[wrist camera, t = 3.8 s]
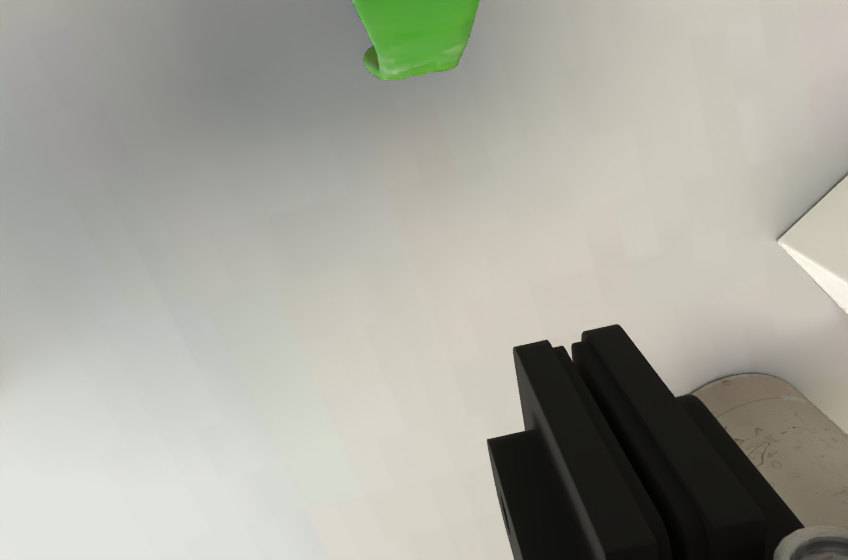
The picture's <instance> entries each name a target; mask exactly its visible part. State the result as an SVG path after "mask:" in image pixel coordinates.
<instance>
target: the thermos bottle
mask: <svg viewBox="0 0 848 560" xmlns="http://www.w3.org/2000/svg"><path fill="white" fill-rule="evenodd" d="M692 395H695V396H697V397H698V398H699V399H700V400H701V401H702V402H703V403H704V404H705V406H706V407H707V408H708V409H709V411H710V412H711V413H712V414H713V415H714V417H715V418H716V419H717V420H718V422H719V423H720V424H721V425H722V426H723V428H724V429H725V430H726V431H727V433H728V434H729V435H730V436H731V437H732V439H733V440H734V441H735V442H736V444H737V445H738V446H739V447H740V448H741V450H742V451H743V452H744V453H745V454H746V456H747V457H748V458H749V459H750V461H751V462H752V463H753V464H754V465H755V467H756V468H757V469H758V470H759V472H760V473H761V474H762V475H763V476H764V478H765V479H766V480H767V481H768V483H769V484H770V485H771V486H772V487H773V489H774V490H775V491H776V492H777V494H778V495H779V496H780V497H781V498H782V500H783V501H784V502H785V503H786V505H787V506H788V507H789V508H790V509H791V511H792V512H793V513H794V514H795V516H796V517H797V518H798V519H799V520H800V522H801V523H802V524H803V525H804V526H805V528H807V527H812V526H816V525H820V526H841V527H845V528H848V435H847V434H846V433H844V432H843V431H842V430H841V429H840V428H839V427H838V426H837V425H836V424H834V423H833V422H832V421H831V420H830V419H829V418H828V417H827V416H826V415H824V414H823V413H822V412H821V411H820V410H819V409H818V408H817V407H816V406H814V405H813V404H812V403H811V402H810V401H809V400H808V399H807V398H806V397H805V396H803V395H802V394H801V393H800V392H799V391H798V390H797V389H795V388H794V387H793V386H791V385H790V384H789V383H787V382H786V381H784V380H781V379H779V378H777V377H774V376H770V375H764V374H739V375H734V376H729V377H725V378H723V379H720V380H717V381H714V382H711V383H709V384H708V385H706V386H704V387H702V388H700V389H698V390H696V391H695V392H694V393H692Z"/></svg>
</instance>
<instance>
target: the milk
mask: <svg viewBox="0 0 848 560" xmlns="http://www.w3.org/2000/svg"><path fill="white" fill-rule="evenodd" d="M778 243H779V244H780V245H781V246H782V247H783V248H784V249H785V251H786V252H787V253H788V254H789V255H790V256H791V257H792V258H793V259H794V260H795V261H796V262H797V263H798V264H799V265H800V266H801V267H802V268H803V269H804V270H805V271H806V272H807V273H808V274H809V275H810V276H811V277H812V278H813V279H814V280H815V281H816V282H817V284H818V285H819V286H820V287H821V288H822V289H823V290H824V291H825V292H826V293H827V294H828V295H829V296H830V297H831V298H832V299H833V300H834V301H835V302H836V303H837V304H838V305H839V306H840V307H841V308H842V309H843V310H844V311H845V312H846V313H847V314H848V175H847V176H846V177H845V178H844V179H843V180H842V181H841V182H840V183H839V184H838V185H837V186H836V187H834V188H833V189H832V190H831V191H830V192H829V193H828V194H827V195H826V196H825V197H824V198H823V199H822V200H820V201H819V202H818V203H817V204H816V205H815V206H814V207H813V208H812V209H811V210H810V211H809V212H808V213H806V214H805V215H804V216H803V217H802V218H801V219H800V220H799V221H798V222H797V223H796V224H795V225H794V226H792V227H791V228H790V229H789V230H788V231H787V232H786V233H785V234H784V235H783V236H782V237H781V238H780V239H779V240H778Z"/></svg>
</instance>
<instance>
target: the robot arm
mask: <svg viewBox="0 0 848 560" xmlns="http://www.w3.org/2000/svg"><path fill="white" fill-rule="evenodd" d="M571 349H572V360H573V362H572V360H571V358H570V356H569V355H568V353H567V351H566V349H565V348H564V346H559V347H554V348H552V346H551V344H550V342H549V341H548V340H543V341H539V342H535V343H530V344H526V345H521V346H517V347H514V348H513V355H514V362H515V368H516V375H517V381H518V387H519V394H520V400H521V407H522V413H523V419H524V426H525V431H523V432H518V433H514V434H509V435H505V436H500V437H496V438H492V439H487V444H488V450H489V456H490V461H491V466H492V471H493V476H494V481H495V486H496V490H497V495H498V499H499V503H500V508H501V512H502V516H503V520H504V524H505V527H506V531H507V535H508V538H509V542H510V546H511V549H512V553H513V556H514V560H848V528H845V527H841V526H820V525H816V526H812V527H807V528H805V526H804V525H803V524H802V523H801V522H800V520H799V519H798V518H797V517H796V516H795V514H794V513H793V512H792V511H791V509H790V508H789V507H788V506H787V505H786V503H785V502H784V501H783V500H782V498H781V497H780V496H779V495H778V494H777V492H776V491H775V490H774V489H773V487H772V486H771V485H770V484H769V483H768V481H767V480H766V479H765V478H764V476H763V475H762V474H761V473H760V472H759V470H758V469H757V468H756V467H755V465H754V464H753V463H752V462H751V461H750V459H749V458H748V457H747V456H746V454H745V453H744V452H743V451H742V450H741V448H740V447H739V446H738V445H737V444H736V442H735V441H734V440H733V439H732V437H731V436H730V435H729V434H728V433H727V431H726V430H725V429H724V428H723V426H722V425H721V424H720V423H719V422H718V420H717V419H716V418H715V417H714V415H713V414H712V413H711V412H710V411H709V409H708V408H707V407H706V406H705V404H704V403H703V402H702V401H701V400H700V399H699V398H698V397H697V396H695V395H692V394H689V395H684V396H680V397H674V395H673V394H672V393H671V391H670V390H669V389H668V387H667V386H666V385H665V383H664V382H663V381H662V380H661V378H660V377H659V376H658V374H657V373H656V372H655V370H654V369H653V368H652V366H651V365H650V364H649V363H648V361H647V360H646V359H645V357H644V356H643V355H642V353H641V352H640V351H639V349H638V348H637V347H636V346H635V344H634V343H633V342H632V340H631V339H630V338H629V336H628V335H627V334H626V332H625V331H624V330H623V328H622V327H621V326H620V325H617V324H615V325H611V326H606V327H602V328H597V329H593V330H588V331H584V332H583V333H582V341H581V342H577V343H573V344H572V347H571Z"/></svg>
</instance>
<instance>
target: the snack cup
mask: <svg viewBox="0 0 848 560" xmlns="http://www.w3.org/2000/svg"><path fill="white" fill-rule="evenodd" d="M352 1H353V3H354V6H355V8H356V10H357V12H358V15H359V17H360V18H361V20H362V22H363V24H364V26H365V28H366V31H367V33H368V35H369V37H370V40H371V42H372V44H373V47H371V48H369V49H368V50H367V51H366V52H365V54H364V58H363V61H364V66H365V67H366V69H367V71H368V72H369V73H371V74H373V75H374V76H376V77H378V78H380V79H383V80H399V79H403V78H405V77H408V76H410V75H422V74H425V73H427V72H439V71H445V70H449V69H452V68H454V67H455V66H456V65H458V62H459V59H460V57H461V55H462V52H463V50H464V48H465V47H466V43H467V41H468V39H469V36H470V32H471V29H472V25H473V21H474V17H475V14H476V10H477V7H478V4H479V0H352Z"/></svg>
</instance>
